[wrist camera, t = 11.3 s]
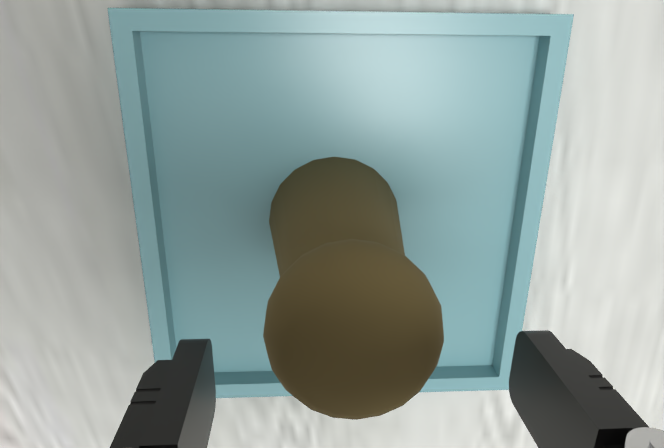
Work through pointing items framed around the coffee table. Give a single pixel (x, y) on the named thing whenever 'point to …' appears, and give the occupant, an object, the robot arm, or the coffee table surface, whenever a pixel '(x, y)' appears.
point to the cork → (347, 294)
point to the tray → (340, 141)
